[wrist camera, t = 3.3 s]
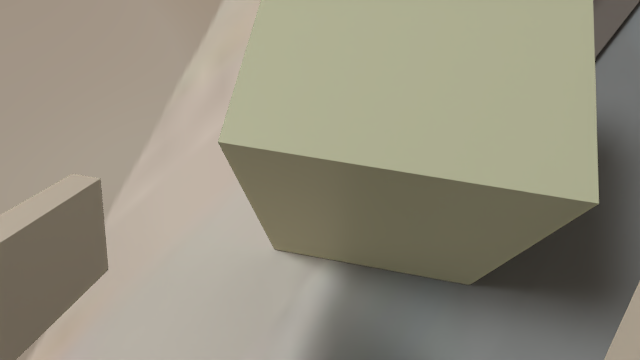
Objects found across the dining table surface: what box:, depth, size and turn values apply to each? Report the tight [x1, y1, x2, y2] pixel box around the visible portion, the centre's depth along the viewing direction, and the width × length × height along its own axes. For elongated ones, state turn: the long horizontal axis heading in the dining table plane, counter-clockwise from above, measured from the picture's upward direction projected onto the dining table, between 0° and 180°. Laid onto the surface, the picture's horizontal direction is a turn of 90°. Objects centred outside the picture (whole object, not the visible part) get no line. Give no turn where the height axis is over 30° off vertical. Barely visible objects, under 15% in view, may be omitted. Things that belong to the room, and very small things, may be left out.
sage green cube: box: [218, 0, 599, 285], centre depth 20 cm, size 10×10×12 cm
